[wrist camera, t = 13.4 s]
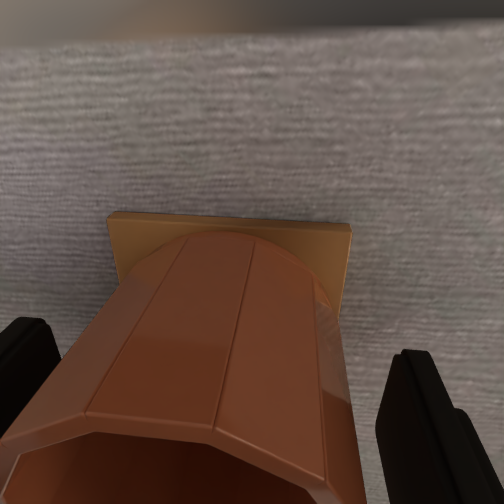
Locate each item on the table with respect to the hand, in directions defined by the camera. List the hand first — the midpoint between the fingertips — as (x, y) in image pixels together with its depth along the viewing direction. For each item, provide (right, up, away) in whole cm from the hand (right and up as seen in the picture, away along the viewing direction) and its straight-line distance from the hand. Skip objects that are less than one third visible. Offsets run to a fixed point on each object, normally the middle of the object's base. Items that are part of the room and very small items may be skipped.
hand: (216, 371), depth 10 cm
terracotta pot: (0, +1, +2) cm, 2 cm away
